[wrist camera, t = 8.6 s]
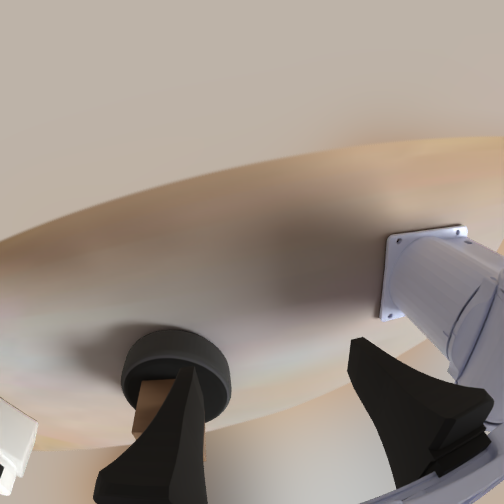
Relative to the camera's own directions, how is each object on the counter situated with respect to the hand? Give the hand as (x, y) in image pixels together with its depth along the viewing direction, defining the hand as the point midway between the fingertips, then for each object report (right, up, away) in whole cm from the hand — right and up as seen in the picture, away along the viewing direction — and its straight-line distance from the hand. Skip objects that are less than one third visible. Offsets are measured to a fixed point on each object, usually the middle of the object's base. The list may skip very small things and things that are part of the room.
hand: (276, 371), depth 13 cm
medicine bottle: (-32, -17, +13) cm, 38 cm away
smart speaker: (-7, -4, +12) cm, 15 cm away
